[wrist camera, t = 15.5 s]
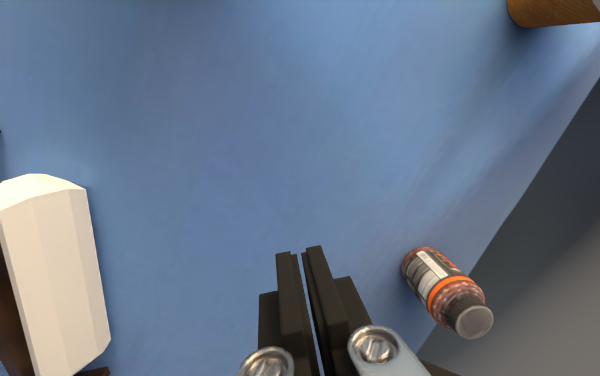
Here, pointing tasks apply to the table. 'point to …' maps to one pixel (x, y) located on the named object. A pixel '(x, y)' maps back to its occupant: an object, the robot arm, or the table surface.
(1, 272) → the frame
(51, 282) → the crystal
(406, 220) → the table surface
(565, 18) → the disposable coffee cup
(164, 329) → the table surface
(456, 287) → the supplement bottle
